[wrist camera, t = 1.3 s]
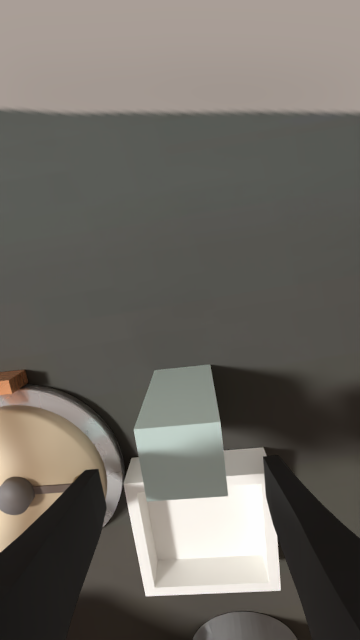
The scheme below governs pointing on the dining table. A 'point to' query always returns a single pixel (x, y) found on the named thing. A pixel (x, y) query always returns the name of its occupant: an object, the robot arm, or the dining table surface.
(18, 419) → the crank
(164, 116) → the dining table surface
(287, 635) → the coffee mug
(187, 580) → the tray
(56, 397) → the crank base
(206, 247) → the dining table surface
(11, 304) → the dining table surface
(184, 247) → the dining table surface
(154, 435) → the block
